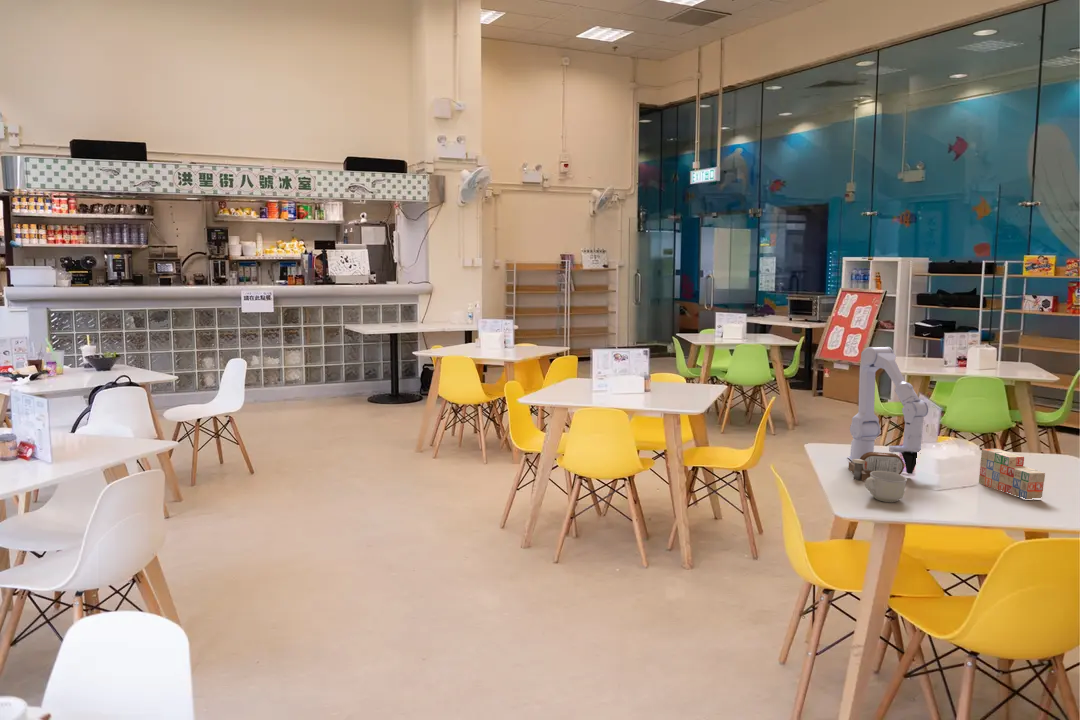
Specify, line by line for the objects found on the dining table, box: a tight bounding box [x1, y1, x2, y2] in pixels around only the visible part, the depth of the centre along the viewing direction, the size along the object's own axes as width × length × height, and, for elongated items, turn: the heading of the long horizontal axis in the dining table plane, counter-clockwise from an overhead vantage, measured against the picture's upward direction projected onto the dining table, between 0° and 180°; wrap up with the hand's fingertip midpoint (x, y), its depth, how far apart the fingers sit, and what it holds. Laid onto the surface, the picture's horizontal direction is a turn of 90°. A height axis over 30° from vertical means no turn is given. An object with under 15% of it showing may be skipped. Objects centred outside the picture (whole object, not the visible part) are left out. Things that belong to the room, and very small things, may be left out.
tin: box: [860, 451, 905, 475], centre depth 285 cm, size 15×3×8 cm, turn 85°
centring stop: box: [847, 459, 872, 482], centre depth 286 cm, size 16×8×7 cm, turn 175°
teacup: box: [864, 471, 908, 503], centre depth 256 cm, size 14×11×8 cm
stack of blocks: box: [978, 448, 1046, 499], centre depth 271 cm, size 21×6×12 cm, turn 11°
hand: (909, 473), depth 285 cm, fingers closed
